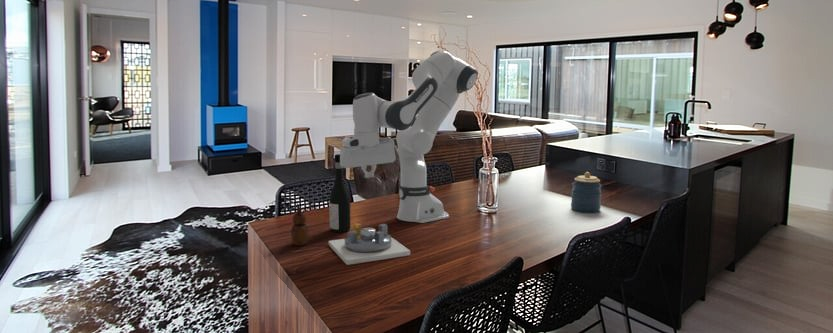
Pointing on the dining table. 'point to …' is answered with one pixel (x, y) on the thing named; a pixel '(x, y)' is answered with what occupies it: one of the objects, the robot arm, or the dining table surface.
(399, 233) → the dining table surface
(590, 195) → the canister
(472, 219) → the dining table surface
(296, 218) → the wooden figurine
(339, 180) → the wine bottle
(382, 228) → the lathe chuck
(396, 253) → the base plate
